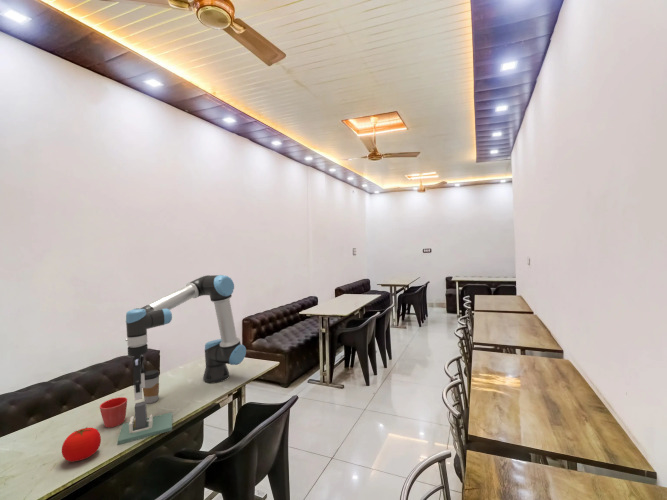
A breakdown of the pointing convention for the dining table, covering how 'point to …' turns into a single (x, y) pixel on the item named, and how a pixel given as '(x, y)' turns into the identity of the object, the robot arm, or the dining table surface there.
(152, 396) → the coffee cup
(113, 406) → the flower pot
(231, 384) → the dining table surface
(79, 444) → the tomato
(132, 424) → the board
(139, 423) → the plug
